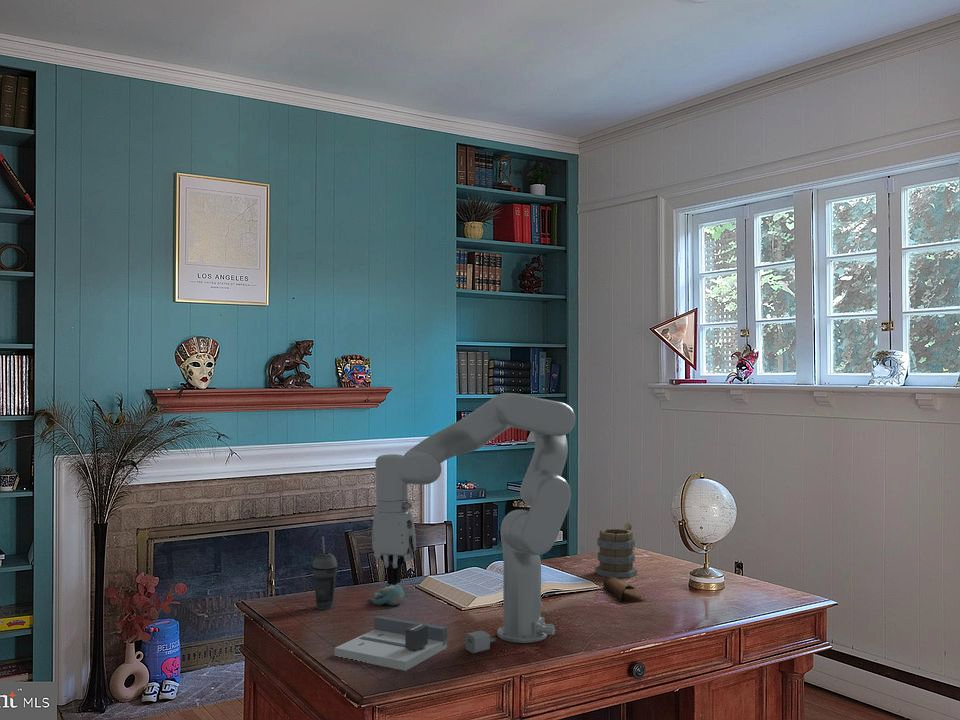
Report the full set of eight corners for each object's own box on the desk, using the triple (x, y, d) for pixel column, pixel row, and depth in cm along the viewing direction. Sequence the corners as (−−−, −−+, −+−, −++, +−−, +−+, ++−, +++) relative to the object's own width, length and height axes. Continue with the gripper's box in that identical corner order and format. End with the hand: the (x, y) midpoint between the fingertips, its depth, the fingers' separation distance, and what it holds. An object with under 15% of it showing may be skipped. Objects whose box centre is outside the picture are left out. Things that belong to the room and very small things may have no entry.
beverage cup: (320, 613, 233) (320, 540, 234) (307, 607, 239) (307, 536, 239) (342, 608, 238) (343, 537, 238) (329, 602, 244) (329, 533, 244)
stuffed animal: (390, 577, 253) (413, 576, 244) (392, 601, 252) (415, 602, 243) (359, 582, 246) (382, 582, 237) (361, 607, 245) (384, 608, 236)
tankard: (626, 580, 270) (626, 533, 271) (590, 574, 277) (590, 529, 278) (649, 568, 287) (649, 523, 287) (615, 563, 294) (615, 520, 294)
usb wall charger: (465, 649, 203) (465, 632, 203) (488, 644, 207) (488, 627, 207) (475, 654, 200) (475, 637, 200) (498, 648, 204) (498, 631, 204)
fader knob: (427, 644, 199) (427, 625, 199) (416, 650, 195) (416, 630, 195) (416, 642, 200) (417, 623, 201) (405, 648, 196) (405, 628, 196)
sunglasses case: (649, 601, 245) (638, 582, 244) (629, 614, 244) (618, 595, 243) (628, 586, 263) (618, 568, 262) (610, 598, 262) (599, 580, 261)
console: (447, 647, 204) (447, 626, 204) (405, 670, 188) (405, 648, 188) (379, 635, 214) (379, 615, 214) (334, 656, 198) (334, 634, 198)
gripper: (427, 505, 201) (429, 582, 201) (375, 502, 208) (377, 576, 208) (409, 511, 195) (411, 590, 195) (357, 507, 202) (359, 583, 202)
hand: (394, 583), depth 201 cm, fingers closed
